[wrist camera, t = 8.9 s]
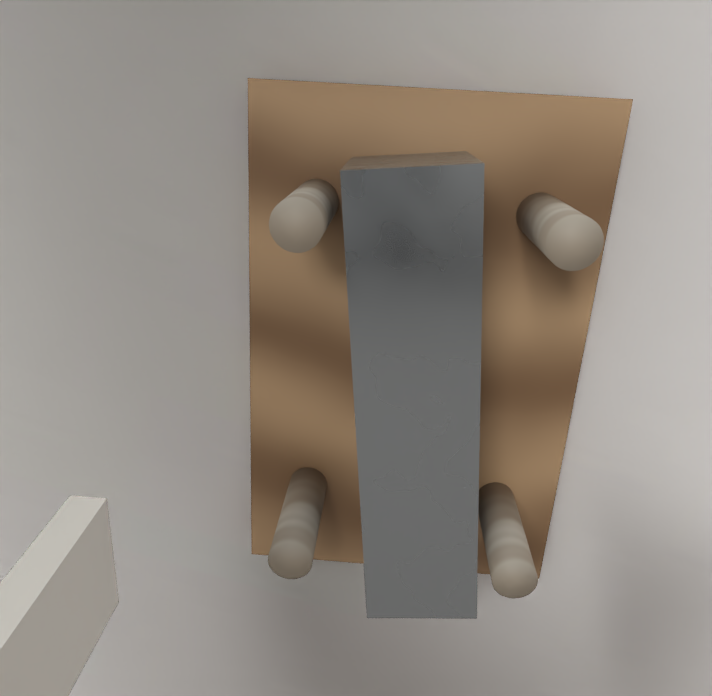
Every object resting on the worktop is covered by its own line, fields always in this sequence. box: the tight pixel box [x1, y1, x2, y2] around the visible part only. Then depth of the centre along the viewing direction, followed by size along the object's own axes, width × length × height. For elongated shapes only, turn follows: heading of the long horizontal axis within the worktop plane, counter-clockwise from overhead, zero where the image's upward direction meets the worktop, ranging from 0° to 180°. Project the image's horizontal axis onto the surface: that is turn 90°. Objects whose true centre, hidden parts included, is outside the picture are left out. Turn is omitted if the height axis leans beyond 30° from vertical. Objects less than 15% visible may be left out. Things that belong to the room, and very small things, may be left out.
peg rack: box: [248, 78, 633, 598], centre depth 23 cm, size 20×13×6 cm, turn 177°
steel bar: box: [340, 151, 485, 618], centre depth 23 cm, size 16×4×5 cm, turn 3°
